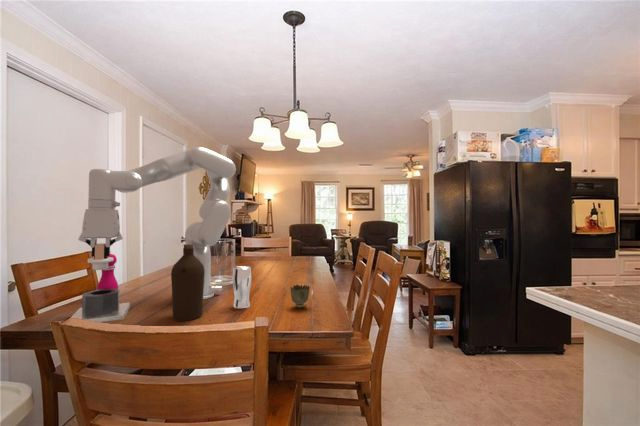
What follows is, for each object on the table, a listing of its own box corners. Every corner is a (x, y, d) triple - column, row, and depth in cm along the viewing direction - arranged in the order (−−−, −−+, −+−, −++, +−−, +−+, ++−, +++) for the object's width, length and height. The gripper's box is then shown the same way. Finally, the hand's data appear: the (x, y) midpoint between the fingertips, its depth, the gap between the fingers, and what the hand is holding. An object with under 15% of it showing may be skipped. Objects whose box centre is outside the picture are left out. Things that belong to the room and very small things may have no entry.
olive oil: (208, 317, 102) (209, 244, 102) (175, 324, 96) (175, 246, 96) (198, 309, 111) (199, 242, 110) (167, 315, 104) (168, 243, 104)
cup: (298, 303, 119) (298, 283, 119) (313, 306, 115) (313, 286, 115) (286, 307, 113) (286, 286, 113) (301, 311, 109) (301, 290, 109)
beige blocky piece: (114, 266, 107) (115, 242, 108) (111, 269, 101) (111, 244, 101) (90, 267, 104) (90, 243, 104) (84, 271, 98) (85, 245, 98)
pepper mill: (107, 301, 118) (107, 251, 118) (92, 300, 120) (92, 250, 120) (122, 296, 126) (122, 249, 126) (108, 295, 127) (108, 248, 127)
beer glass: (254, 305, 116) (255, 266, 116) (243, 310, 110) (243, 269, 110) (240, 302, 119) (240, 265, 119) (228, 307, 113) (228, 268, 112)
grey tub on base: (129, 306, 113) (129, 285, 113) (123, 319, 100) (123, 295, 100) (80, 311, 106) (80, 289, 106) (66, 326, 93) (66, 300, 93)
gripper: (130, 206, 110) (129, 256, 110) (76, 204, 103) (74, 258, 103) (127, 205, 103) (126, 259, 103) (69, 204, 96) (67, 261, 96)
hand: (100, 258), depth 103 cm, fingers closed on beige blocky piece
